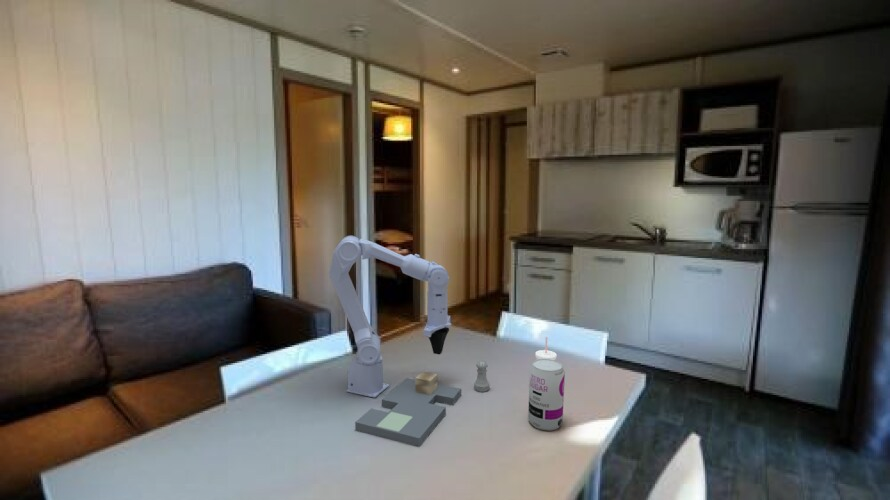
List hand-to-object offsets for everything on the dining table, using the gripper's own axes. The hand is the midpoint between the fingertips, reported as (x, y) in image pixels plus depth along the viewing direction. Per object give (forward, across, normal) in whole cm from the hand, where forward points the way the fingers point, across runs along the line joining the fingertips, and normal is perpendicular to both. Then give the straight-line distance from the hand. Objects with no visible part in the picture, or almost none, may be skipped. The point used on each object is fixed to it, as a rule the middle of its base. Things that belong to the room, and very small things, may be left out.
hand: (437, 353), depth 124 cm
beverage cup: (+10, +14, -28) cm, 33 cm away
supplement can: (+10, -8, -32) cm, 35 cm away
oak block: (+8, -8, 0) cm, 11 cm away
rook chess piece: (+10, +3, -12) cm, 16 cm away
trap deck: (+10, -16, 0) cm, 19 cm away
